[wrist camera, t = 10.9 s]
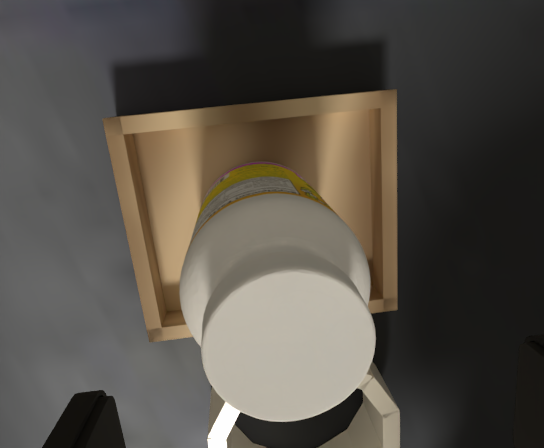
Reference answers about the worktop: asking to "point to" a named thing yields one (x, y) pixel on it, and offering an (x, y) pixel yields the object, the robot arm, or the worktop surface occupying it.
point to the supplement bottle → (277, 295)
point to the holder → (349, 444)
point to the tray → (244, 149)
